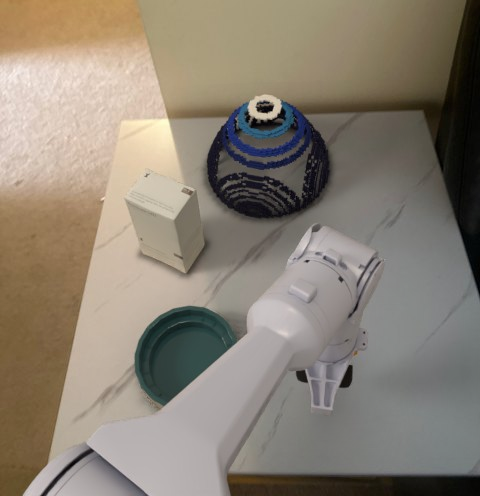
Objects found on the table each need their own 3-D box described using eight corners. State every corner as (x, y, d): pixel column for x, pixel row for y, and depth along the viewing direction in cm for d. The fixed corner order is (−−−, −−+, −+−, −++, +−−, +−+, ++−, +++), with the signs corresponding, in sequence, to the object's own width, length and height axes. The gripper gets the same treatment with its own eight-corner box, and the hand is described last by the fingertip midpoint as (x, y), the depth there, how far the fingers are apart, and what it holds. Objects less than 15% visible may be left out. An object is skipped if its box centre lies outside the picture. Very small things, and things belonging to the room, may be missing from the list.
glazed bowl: (231, 425, 70) (228, 416, 66) (129, 409, 72) (121, 400, 69) (247, 324, 77) (245, 312, 74) (155, 312, 79) (149, 300, 76)
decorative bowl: (317, 228, 86) (321, 171, 74) (193, 205, 90) (179, 148, 79) (338, 132, 97) (344, 69, 86) (227, 116, 101) (219, 54, 90)
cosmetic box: (142, 254, 85) (118, 198, 74) (163, 223, 88) (143, 165, 77) (189, 276, 83) (172, 221, 71) (209, 243, 86) (196, 186, 74)
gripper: (371, 401, 48) (356, 439, 59) (374, 253, 57) (361, 309, 67) (289, 389, 49) (289, 428, 60) (304, 245, 58) (302, 302, 68)
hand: (323, 365), depth 64 cm, fingers closed on toy figure, 3 cm apart
